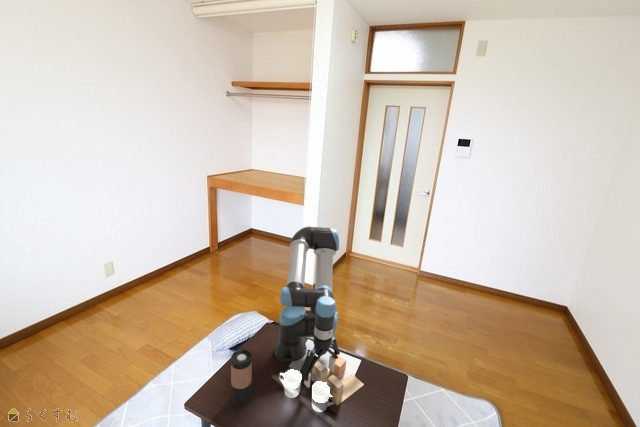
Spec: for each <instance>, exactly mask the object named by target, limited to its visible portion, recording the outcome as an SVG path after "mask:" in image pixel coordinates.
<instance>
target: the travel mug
mask: <svg viewBox="0 0 640 427" xmlns="http://www.w3.org/2000/svg"><path fill="white" fill-rule="evenodd" d="M252 360H253V359H252V352H251V351H249V350H247V349H242V350H239V351H238V350H236V351H234V352H233V353H232V354H231V357H230V385H231V386H230V387H231V401H232V403H233V404H234V406H237V407H241V406H246V405H247V404H248V403H249V402H250V400H251V397H252V380H253V379H252V378H253V376H252V374H253V373H252V372H253V371H252V370H253V366H252V364H253V363H252Z"/></svg>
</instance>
